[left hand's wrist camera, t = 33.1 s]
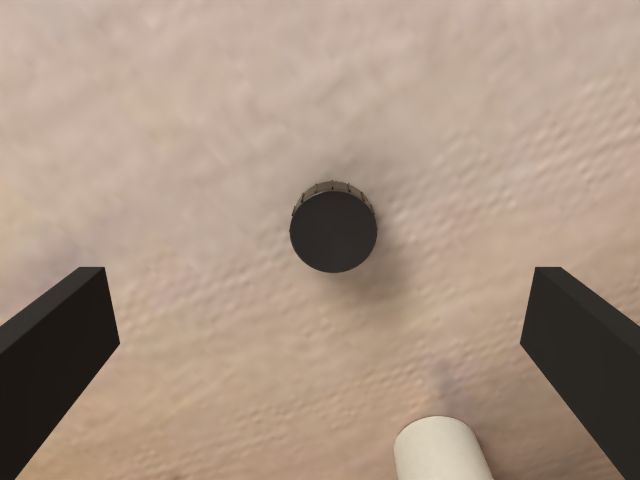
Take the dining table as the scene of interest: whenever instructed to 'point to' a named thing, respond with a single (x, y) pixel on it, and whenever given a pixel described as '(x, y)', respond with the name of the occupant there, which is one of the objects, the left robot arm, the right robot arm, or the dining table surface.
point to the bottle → (439, 451)
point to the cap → (333, 227)
